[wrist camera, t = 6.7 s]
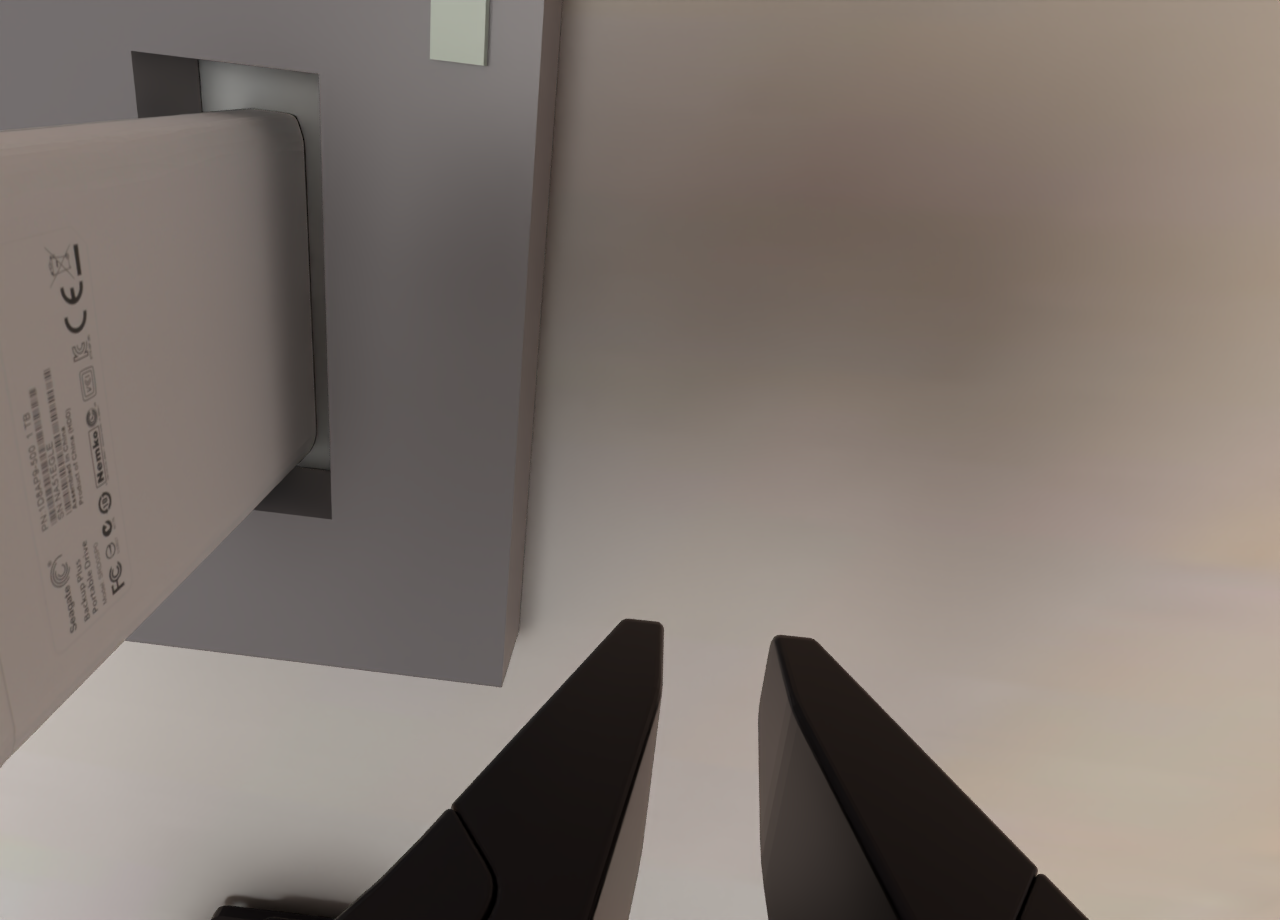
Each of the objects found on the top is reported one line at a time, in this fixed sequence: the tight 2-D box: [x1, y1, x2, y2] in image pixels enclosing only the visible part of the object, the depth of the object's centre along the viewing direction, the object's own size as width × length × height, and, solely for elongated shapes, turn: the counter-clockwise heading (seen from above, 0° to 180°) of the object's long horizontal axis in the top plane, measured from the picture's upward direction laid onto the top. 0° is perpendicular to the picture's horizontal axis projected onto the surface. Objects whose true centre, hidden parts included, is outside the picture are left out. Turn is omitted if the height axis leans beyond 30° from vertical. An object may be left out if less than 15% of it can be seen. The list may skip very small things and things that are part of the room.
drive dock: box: [0, 0, 563, 687], centre depth 20 cm, size 18×12×3 cm, turn 174°
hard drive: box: [0, 109, 316, 768], centre depth 16 cm, size 2×8×12 cm, turn 174°
